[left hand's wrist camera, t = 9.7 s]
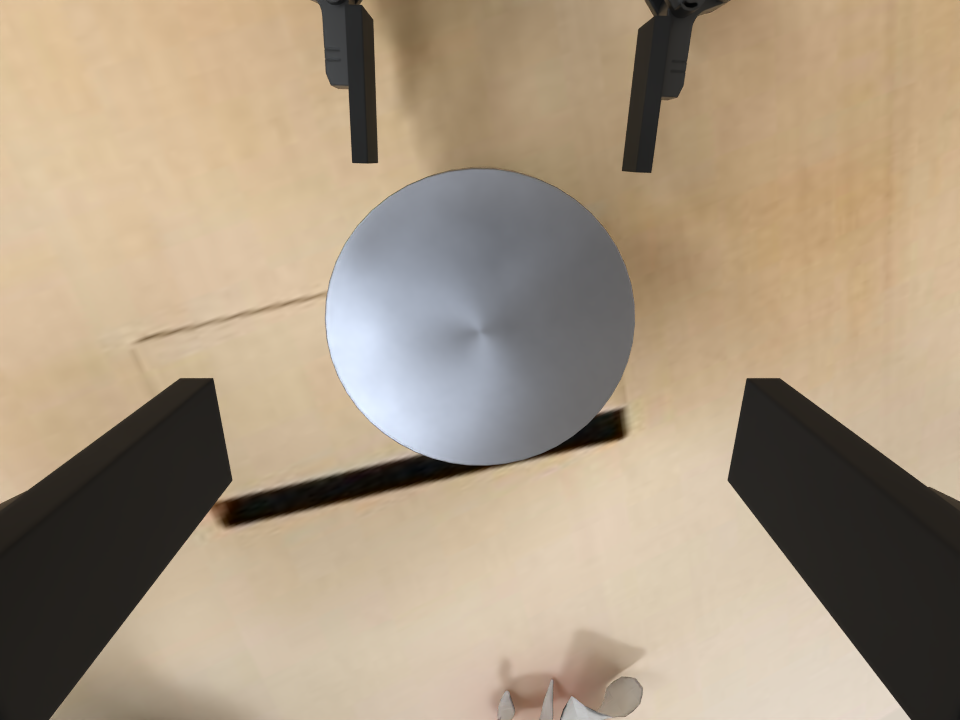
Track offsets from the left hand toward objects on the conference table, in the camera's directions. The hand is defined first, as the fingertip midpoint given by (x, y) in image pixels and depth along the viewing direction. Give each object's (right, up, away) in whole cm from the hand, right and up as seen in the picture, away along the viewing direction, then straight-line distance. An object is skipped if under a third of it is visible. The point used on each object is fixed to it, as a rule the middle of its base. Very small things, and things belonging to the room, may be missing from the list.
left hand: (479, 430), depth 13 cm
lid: (0, +3, +8) cm, 8 cm away
